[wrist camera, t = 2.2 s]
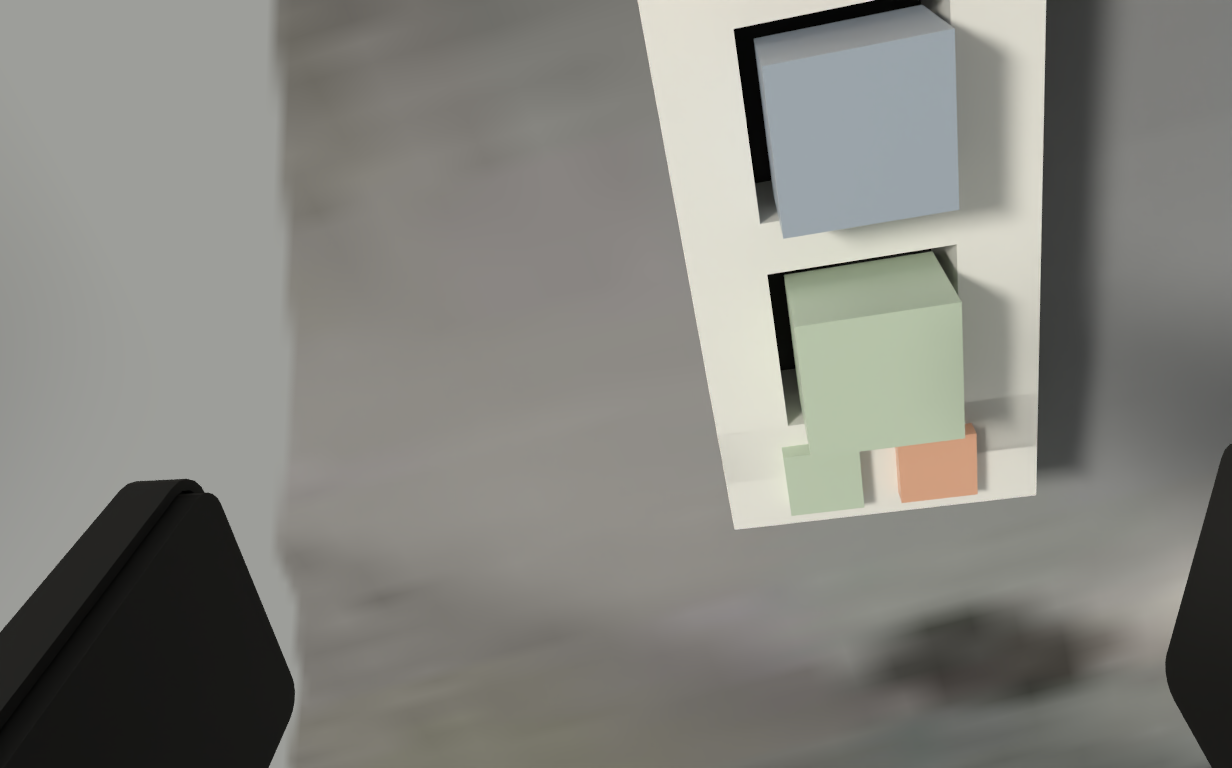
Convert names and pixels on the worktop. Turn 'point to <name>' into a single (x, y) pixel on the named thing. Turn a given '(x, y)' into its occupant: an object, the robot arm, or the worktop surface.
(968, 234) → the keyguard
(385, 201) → the worktop surface
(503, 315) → the worktop surface
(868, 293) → the key sage
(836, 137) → the key slate
